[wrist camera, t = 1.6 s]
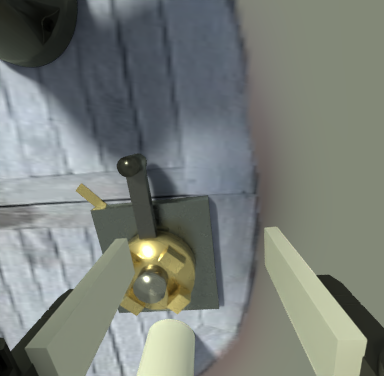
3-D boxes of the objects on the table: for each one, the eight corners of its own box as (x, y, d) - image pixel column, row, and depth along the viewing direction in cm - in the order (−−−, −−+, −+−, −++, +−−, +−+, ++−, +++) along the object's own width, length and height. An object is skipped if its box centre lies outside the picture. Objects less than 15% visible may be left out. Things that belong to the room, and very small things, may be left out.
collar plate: (74, 184, 30) (65, 187, 28) (205, 170, 28) (205, 173, 26) (109, 304, 36) (104, 313, 34) (218, 299, 35) (219, 308, 33)
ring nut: (95, 158, 26) (68, 164, 21) (180, 148, 25) (174, 152, 20) (130, 295, 33) (116, 326, 27) (199, 292, 32) (198, 323, 26)
